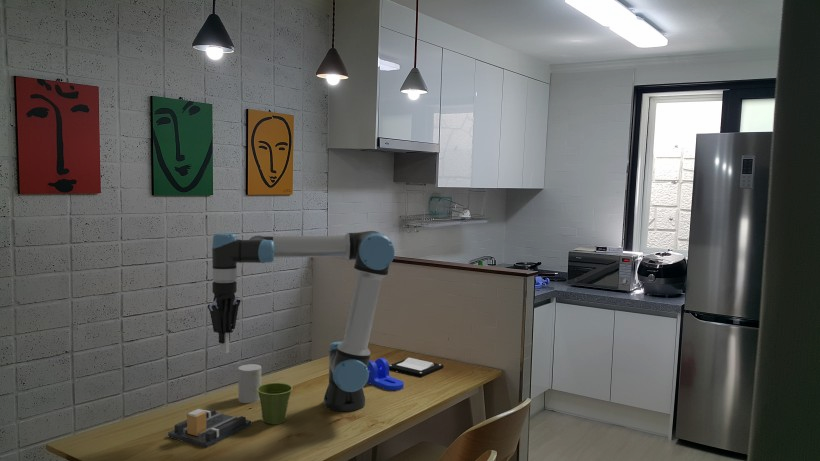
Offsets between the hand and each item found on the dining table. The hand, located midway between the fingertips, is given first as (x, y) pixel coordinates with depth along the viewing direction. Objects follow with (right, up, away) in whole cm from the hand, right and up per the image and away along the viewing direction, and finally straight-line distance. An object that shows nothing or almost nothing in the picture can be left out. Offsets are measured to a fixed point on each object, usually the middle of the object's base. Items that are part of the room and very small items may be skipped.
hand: (224, 352), depth 201 cm
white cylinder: (+1, -23, +26) cm, 35 cm away
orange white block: (-6, -23, -9) cm, 26 cm away
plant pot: (+15, -25, +6) cm, 30 cm away
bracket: (+51, -23, +47) cm, 73 cm away
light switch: (+63, -22, +70) cm, 97 cm away
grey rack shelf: (-3, -23, -4) cm, 24 cm away
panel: (-3, -25, -4) cm, 25 cm away
